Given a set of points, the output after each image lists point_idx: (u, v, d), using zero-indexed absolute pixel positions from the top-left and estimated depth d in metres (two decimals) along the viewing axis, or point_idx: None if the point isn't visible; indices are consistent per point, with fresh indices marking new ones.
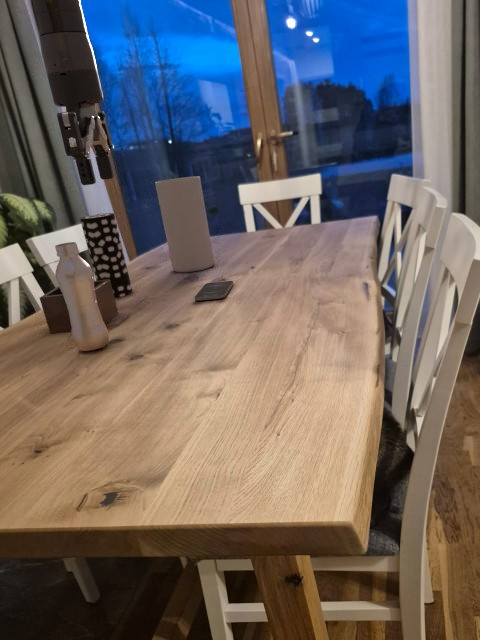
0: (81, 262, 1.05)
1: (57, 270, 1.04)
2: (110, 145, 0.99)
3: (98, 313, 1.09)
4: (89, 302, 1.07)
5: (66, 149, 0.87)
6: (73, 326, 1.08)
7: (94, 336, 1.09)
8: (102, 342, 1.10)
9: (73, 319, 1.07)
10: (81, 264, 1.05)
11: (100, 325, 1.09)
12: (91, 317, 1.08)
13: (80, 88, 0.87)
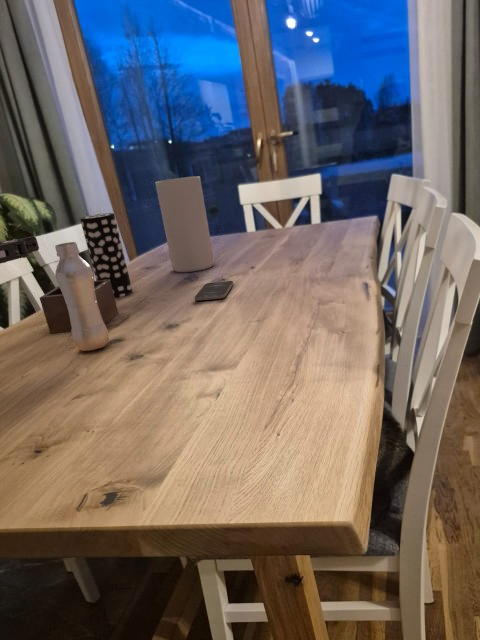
0: (81, 262, 1.05)
1: (57, 270, 1.04)
2: None
3: (98, 313, 1.09)
4: (89, 302, 1.07)
5: None
6: (73, 326, 1.08)
7: (94, 336, 1.09)
8: (102, 342, 1.10)
9: (73, 319, 1.07)
10: (81, 264, 1.05)
11: (100, 325, 1.09)
12: (91, 317, 1.08)
13: None
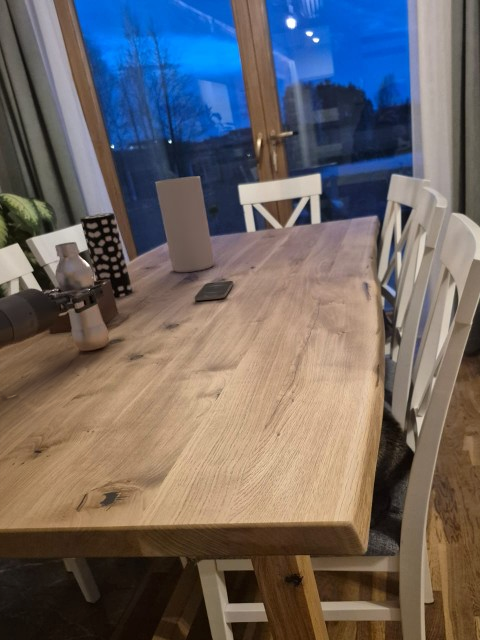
0: (81, 262, 1.05)
1: (57, 270, 1.04)
2: None
3: (98, 313, 1.09)
4: None
5: (41, 292, 1.07)
6: (73, 326, 1.08)
7: (94, 336, 1.09)
8: (102, 342, 1.10)
9: (73, 319, 1.07)
10: (81, 264, 1.05)
11: (100, 325, 1.09)
12: (91, 317, 1.08)
13: None
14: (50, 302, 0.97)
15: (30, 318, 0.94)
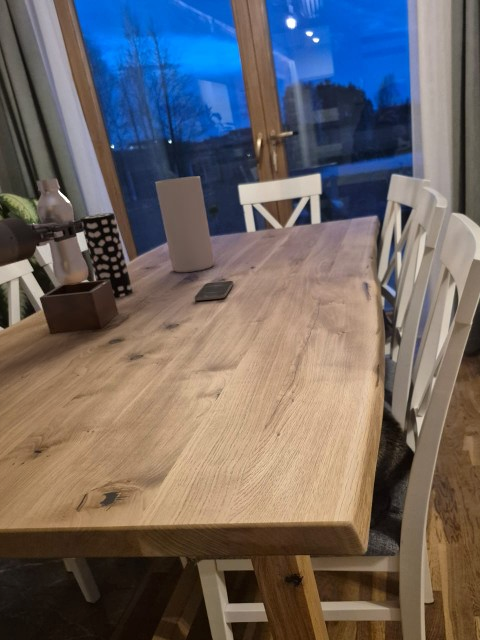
0: (61, 197, 1.10)
1: (38, 204, 1.10)
2: None
3: (78, 248, 1.15)
4: None
5: None
6: (54, 260, 1.14)
7: (73, 269, 1.15)
8: (81, 276, 1.16)
9: (54, 252, 1.13)
10: (62, 199, 1.11)
11: (80, 260, 1.15)
12: (71, 251, 1.14)
13: None
14: (30, 230, 1.03)
15: (11, 242, 1.00)
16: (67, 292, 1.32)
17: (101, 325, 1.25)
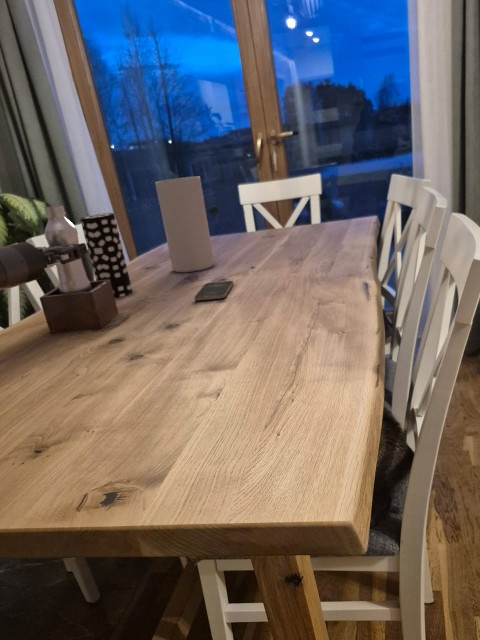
0: (67, 222, 1.20)
1: (46, 229, 1.20)
2: None
3: (82, 269, 1.25)
4: None
5: None
6: (60, 279, 1.24)
7: (78, 288, 1.24)
8: None
9: (60, 273, 1.23)
10: (67, 224, 1.20)
11: (84, 279, 1.25)
12: (76, 271, 1.23)
13: None
14: (39, 254, 1.13)
15: (21, 265, 1.09)
16: None
17: (101, 325, 1.25)
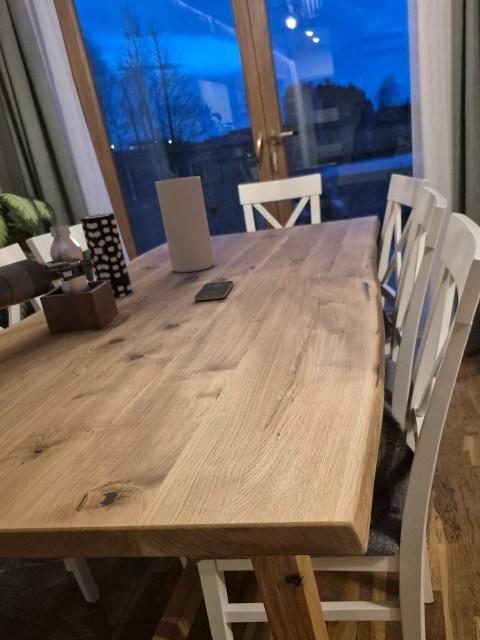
0: (71, 242, 1.22)
1: (51, 248, 1.21)
2: None
3: (87, 286, 1.26)
4: None
5: None
6: None
7: None
8: None
9: (65, 291, 1.25)
10: (72, 243, 1.22)
11: None
12: (81, 289, 1.25)
13: None
14: (44, 270, 1.14)
15: (27, 283, 1.11)
16: None
17: (101, 325, 1.25)
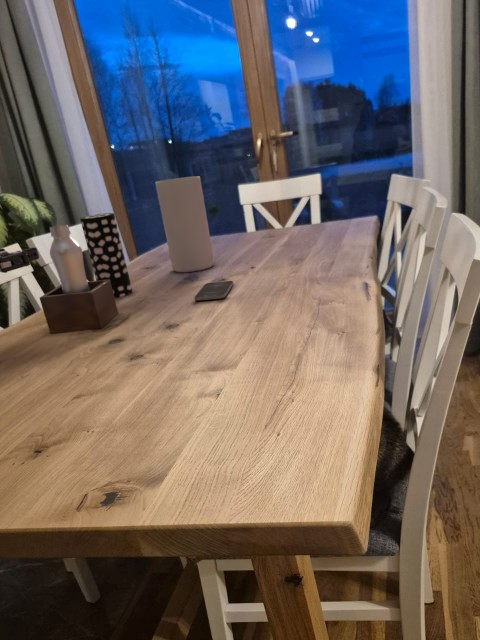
0: (71, 241, 1.22)
1: (51, 248, 1.21)
2: None
3: (87, 286, 1.26)
4: (79, 276, 1.24)
5: None
6: None
7: None
8: None
9: (65, 291, 1.25)
10: (72, 243, 1.22)
11: None
12: (80, 289, 1.25)
13: None
14: None
15: None
16: None
17: (101, 325, 1.25)
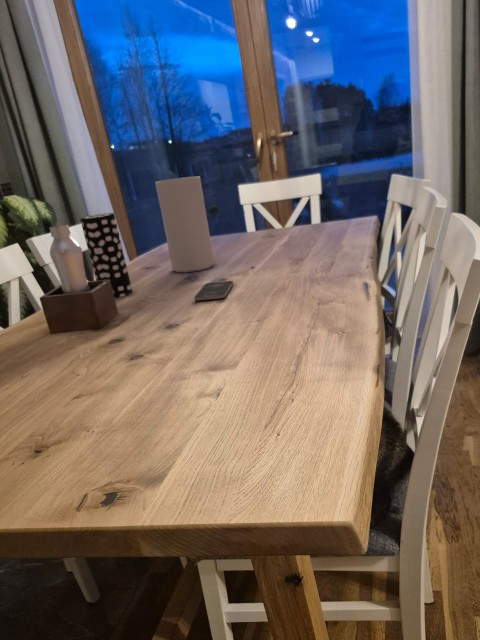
0: (71, 241, 1.22)
1: (51, 248, 1.21)
2: None
3: (87, 286, 1.26)
4: (79, 276, 1.24)
5: None
6: None
7: None
8: None
9: (65, 291, 1.25)
10: (72, 243, 1.22)
11: None
12: (80, 289, 1.25)
13: None
14: None
15: None
16: None
17: (101, 325, 1.25)
